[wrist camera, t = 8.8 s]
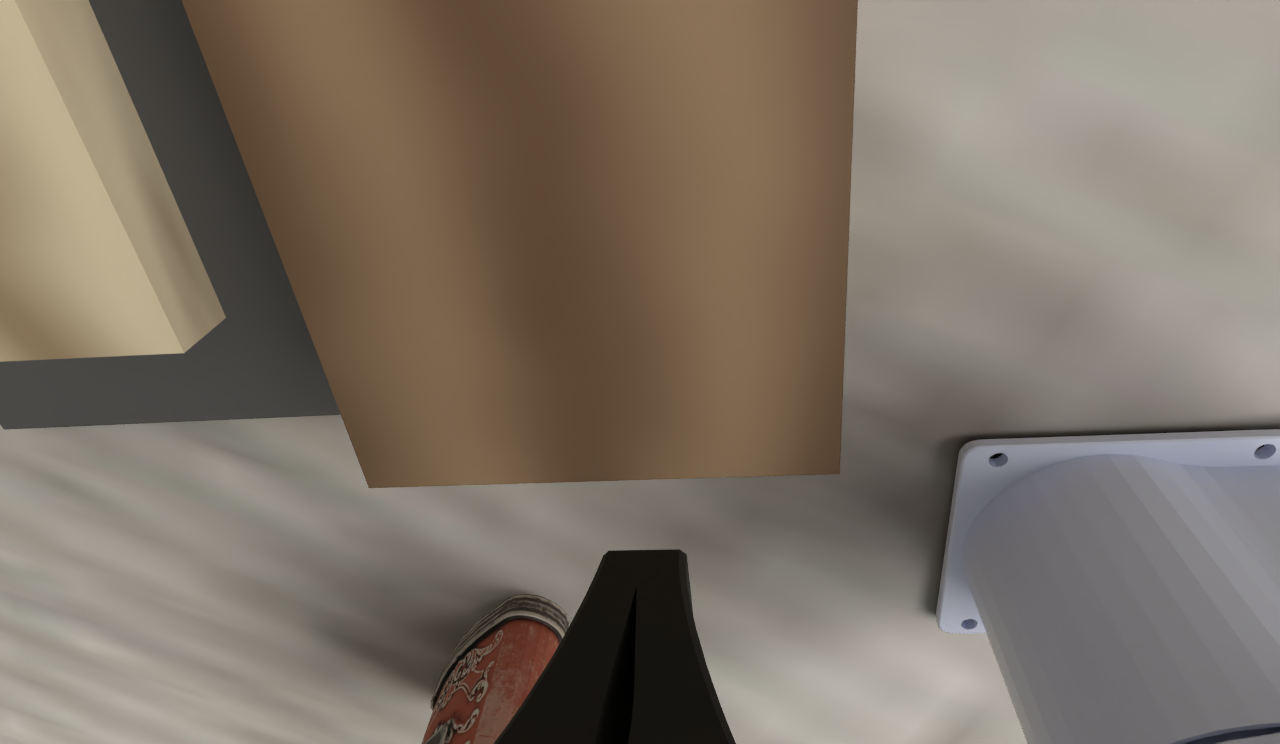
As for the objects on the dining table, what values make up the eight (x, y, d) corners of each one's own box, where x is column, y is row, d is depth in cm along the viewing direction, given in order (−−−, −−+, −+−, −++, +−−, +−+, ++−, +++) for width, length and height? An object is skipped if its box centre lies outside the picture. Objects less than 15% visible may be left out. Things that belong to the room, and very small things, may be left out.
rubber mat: (207, -274, 15) (192, -280, 14) (419, 402, 23) (414, 411, 23) (-377, -174, 16) (-406, -175, 16) (15, 420, 25) (4, 429, 24)
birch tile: (-257, -5, 16) (-162, -14, 17) (-19, 362, 20) (38, 327, 22) (-3, -36, 15) (70, -42, 17) (183, 352, 20) (226, 317, 21)
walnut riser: (833, -383, 13) (875, -482, 10) (819, 384, 21) (839, 473, 18) (207, -274, 15) (54, -328, 11) (419, 402, 23) (369, 487, 20)
